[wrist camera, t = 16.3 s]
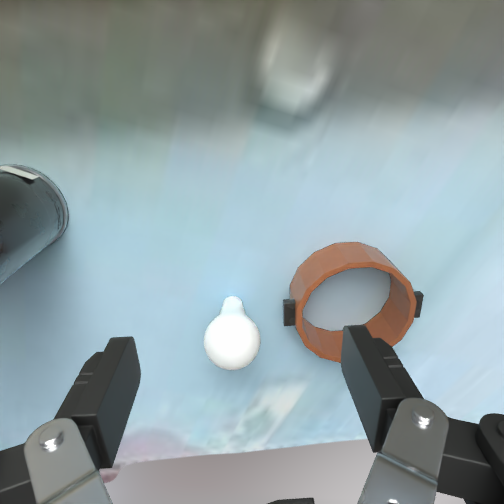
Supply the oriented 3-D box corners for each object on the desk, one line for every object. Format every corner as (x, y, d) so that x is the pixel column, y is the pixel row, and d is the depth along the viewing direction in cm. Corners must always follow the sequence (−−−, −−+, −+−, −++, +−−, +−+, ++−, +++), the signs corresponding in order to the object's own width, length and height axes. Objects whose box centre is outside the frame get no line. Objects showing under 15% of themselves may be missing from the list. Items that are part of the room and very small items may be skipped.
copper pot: (280, 338, 48) (285, 367, 43) (278, 246, 42) (284, 266, 37) (398, 330, 48) (417, 358, 43) (412, 238, 43) (436, 257, 38)
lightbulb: (213, 323, 47) (207, 386, 37) (204, 283, 44) (195, 339, 34) (259, 317, 46) (265, 378, 36) (253, 277, 44) (258, 331, 34)
